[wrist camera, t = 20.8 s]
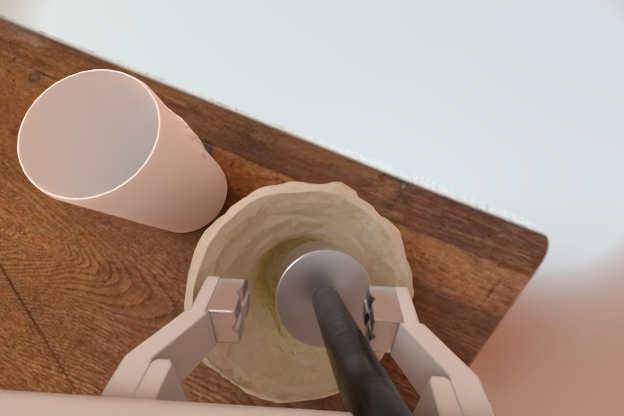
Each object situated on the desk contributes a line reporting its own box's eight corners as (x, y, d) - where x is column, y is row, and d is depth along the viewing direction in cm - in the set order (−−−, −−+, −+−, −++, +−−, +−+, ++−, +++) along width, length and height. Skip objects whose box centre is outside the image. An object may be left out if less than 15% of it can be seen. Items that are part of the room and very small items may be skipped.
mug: (145, 120, 29) (30, 17, 17) (245, 173, 28) (193, 101, 16) (95, 188, 27) (-70, 126, 16) (197, 248, 26) (101, 229, 14)
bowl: (283, 417, 23) (260, 525, 13) (197, 271, 26) (124, 271, 16) (427, 306, 25) (500, 329, 15) (333, 180, 27) (342, 129, 18)
